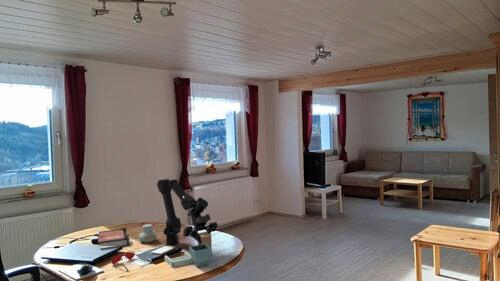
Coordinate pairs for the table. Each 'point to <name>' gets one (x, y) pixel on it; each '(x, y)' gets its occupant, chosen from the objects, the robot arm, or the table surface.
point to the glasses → (127, 255)
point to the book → (113, 238)
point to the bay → (179, 260)
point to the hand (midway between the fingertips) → (205, 242)
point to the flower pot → (200, 254)
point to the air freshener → (147, 234)
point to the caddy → (205, 239)
